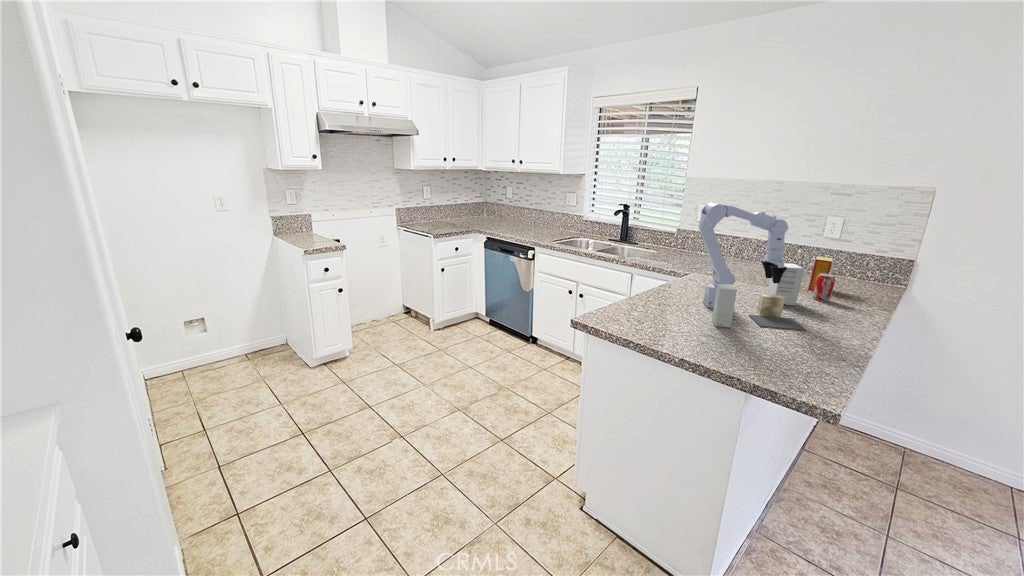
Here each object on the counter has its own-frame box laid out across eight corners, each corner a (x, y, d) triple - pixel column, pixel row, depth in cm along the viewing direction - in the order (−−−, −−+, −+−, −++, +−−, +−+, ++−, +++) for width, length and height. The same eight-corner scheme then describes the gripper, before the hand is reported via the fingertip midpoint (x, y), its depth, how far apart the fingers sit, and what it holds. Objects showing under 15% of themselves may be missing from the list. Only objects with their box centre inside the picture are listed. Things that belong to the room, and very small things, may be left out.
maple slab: (759, 316, 173) (763, 296, 171) (756, 313, 176) (760, 294, 174) (780, 318, 172) (785, 298, 170) (777, 315, 175) (782, 295, 173)
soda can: (813, 301, 195) (819, 275, 192) (809, 296, 202) (815, 272, 198) (831, 303, 193) (838, 277, 189) (827, 299, 199) (833, 273, 196)
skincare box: (730, 328, 160) (738, 290, 155) (713, 326, 161) (720, 288, 157) (727, 320, 167) (734, 284, 163) (710, 318, 169) (717, 282, 165)
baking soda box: (809, 286, 220) (817, 255, 215) (825, 288, 216) (833, 257, 211) (808, 290, 212) (815, 258, 208) (824, 292, 209) (832, 260, 204)
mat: (759, 326, 162) (760, 325, 162) (748, 315, 174) (749, 314, 173) (806, 330, 160) (806, 329, 160) (792, 319, 171) (792, 318, 171)
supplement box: (796, 306, 188) (805, 268, 183) (773, 304, 189) (781, 266, 184) (787, 299, 197) (795, 263, 192) (765, 297, 198) (773, 261, 193)
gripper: (794, 251, 167) (790, 285, 171) (778, 244, 181) (775, 275, 185) (774, 252, 169) (771, 285, 172) (760, 245, 182) (758, 276, 186)
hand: (772, 280), depth 179 cm, fingers open, 7 cm apart
